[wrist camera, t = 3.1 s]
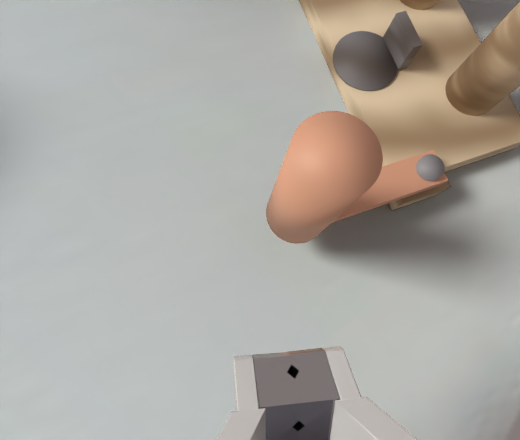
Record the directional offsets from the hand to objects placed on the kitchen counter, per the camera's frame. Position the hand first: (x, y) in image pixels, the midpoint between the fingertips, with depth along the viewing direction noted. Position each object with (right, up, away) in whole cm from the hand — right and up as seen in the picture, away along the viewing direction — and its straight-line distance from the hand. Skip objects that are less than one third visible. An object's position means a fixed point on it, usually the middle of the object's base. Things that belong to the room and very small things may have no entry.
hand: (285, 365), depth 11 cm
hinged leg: (+6, +6, +17) cm, 19 cm away
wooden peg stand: (+11, +17, +23) cm, 31 cm away
